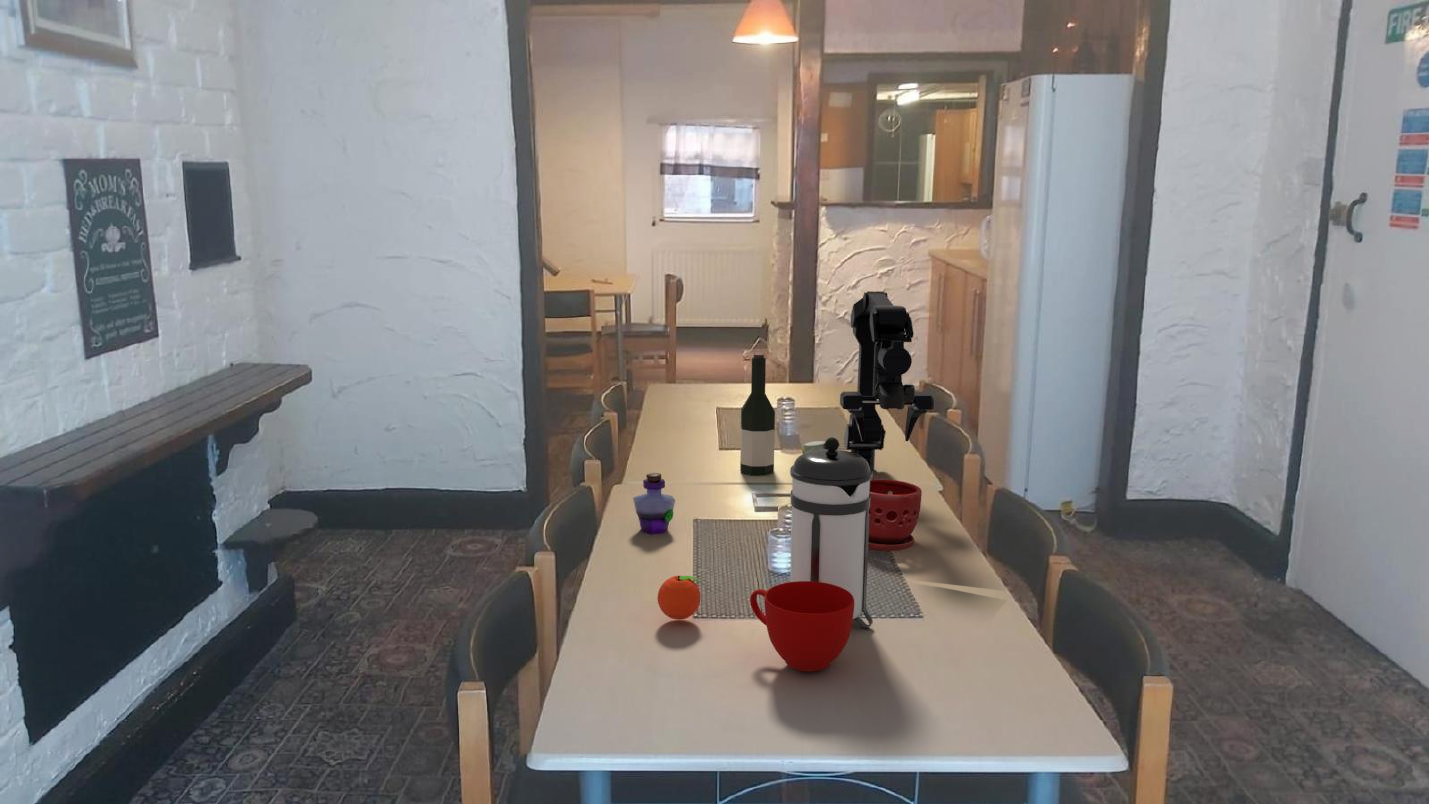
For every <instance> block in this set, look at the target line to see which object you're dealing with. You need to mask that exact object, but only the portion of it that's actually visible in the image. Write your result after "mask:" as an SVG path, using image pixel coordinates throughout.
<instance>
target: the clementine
mask: <svg viewBox="0 0 1429 804" xmlns="http://www.w3.org/2000/svg"><path fill="white" fill-rule="evenodd" d="M694 580H696V581H700V582H701V579H699V578H697V577H695V576H691V575H673V576H670V577H669V578H666V579H665V581H664V582H663V583H662V584H661V585H660V587H659V588H658V591H657V604H658V607H659V608H660V611H661V612H662V613H663V614H664V615H665V616H667V617H668V618H670V619H672V620H685V619H688V618H689V617H692V616H693V615H694V614H695V613H696V611H698V609H699V606H700V604H701V598H702V597H701V591H700V589H699V586H698V585H697V583H696V582H695V581H694ZM702 585H703V586H704V589H706V586H705V584H704V583H702Z"/></svg>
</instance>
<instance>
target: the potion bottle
mask: <svg viewBox="0 0 1429 804" xmlns="http://www.w3.org/2000/svg"><path fill="white" fill-rule="evenodd" d="M645 477H646V478H645V479H643V481H642V483H643V484H642V487H643V488H644V489H646V493H641V494H640V495H637V496H633V497H632V500H633V503H634V504H633V505H634V508H635V513H636V515H637V517H638V521H639V526H640V530H641V532H642V534H643V533H644V534H649V535H658V534H663V533H666V532H667V531H668V528H669V525H670V522H671V521H672V520H673V517H674V508H675V504H676V498H674V496H673V495H671V494H666V493H665V494H664V493H662V490H663V489H665V488H666V481H665V480H664V478H662V474H661V473H659V472H651V473H647V474H646V475H645Z"/></svg>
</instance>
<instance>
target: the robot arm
mask: <svg viewBox="0 0 1429 804" xmlns="http://www.w3.org/2000/svg"><path fill="white" fill-rule="evenodd" d="M888 297H889V296H888V292H884V291H881V290H880V291H878V290H877V291H876V290H874V291H873V290H869V291H866V292H864V293H863V295H862V298H860V299H859V300H858V301H856V302H855V303H853V305H852V309H851V313H850V328H852V334H853V336H854V337H855V340H856V341H857V343H858V367H857V389H856V391H842V392H841V393H840V395H839V405H840V407H841V408H842V409H843V410H846V411H847V412H848V413H849V414H850V415H849V418H848V419H849V420H848V424H846V427H845V432H844V437H843V445H844V447H845V449H846V451H849V450H850V452H852V453H855V454H858V455H860V456H861V457H863V458H864V459H865V460H866V461H867V462H868V464H869V468H870V469H871V470H872V471H873V472H874V471H875V466H876V465H875V461H876V460H875V459H876V458H875V457H876V450H877V451H878V450H879V451H883V449H884V445H885V437H886V433H887V432H886V430H885V428H884V424H882V422H883V421H882V419H881V416H880V414H879V413H878V411H877V409H876V406H879V407H880V408H881V409H883V410H889V409H894V410H895V409H897V410H903V409H904V408H905V406H907V411H906V421H905V430H904V431H905V432H904V440H905V442H909V440H910V437H911V435H912V433H913V429H914V428H915V425H916V424H917V421H918V419H919V418H920V417H921V416H922V415H923V414H927V412H928V410H929V411H931V410H934V405H935V404H934V403H935V400H934V397H933V396H932V395H931V394H930V393H929V392H927V391H915V388H916V387H915V385H914V384H903V381H902V380H903V375H904V374H906V373H907V372H908V371H909V370H910V369H911V366H912V362H913V361H912V360H913V359H912V357H911V354H910V352H909V351H908V350H907V349H906V348H905V343H912V341H913V340H912V338H914V328H913V322H912V321H913V320H912V317H910V313H909V312H907V309H906V307H905V306H902V305H894V304H893V303H892V302H891V300H890V299H889V298H888Z"/></svg>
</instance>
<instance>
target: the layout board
mask: <svg viewBox="0 0 1429 804" xmlns="http://www.w3.org/2000/svg"><path fill="white" fill-rule="evenodd" d="M892 494H893V493H892V492H890V493H889V492H888V495H892ZM757 497H758V498H759V497H760V498H761V497H791V492H759V493H758V492H752V493H751V498H752V503H753V508H754V512H760V511H762V512H763V511H767V512H768V511H769V512H771V511H777V510H778V507H779V506H780V505H758V499H757Z"/></svg>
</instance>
